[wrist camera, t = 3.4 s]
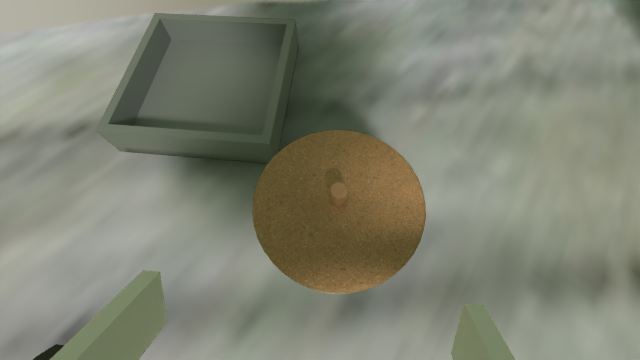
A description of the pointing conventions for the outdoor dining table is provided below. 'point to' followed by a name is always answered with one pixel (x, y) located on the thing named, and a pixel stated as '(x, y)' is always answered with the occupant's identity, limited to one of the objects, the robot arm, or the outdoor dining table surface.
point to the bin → (205, 88)
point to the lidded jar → (339, 211)
